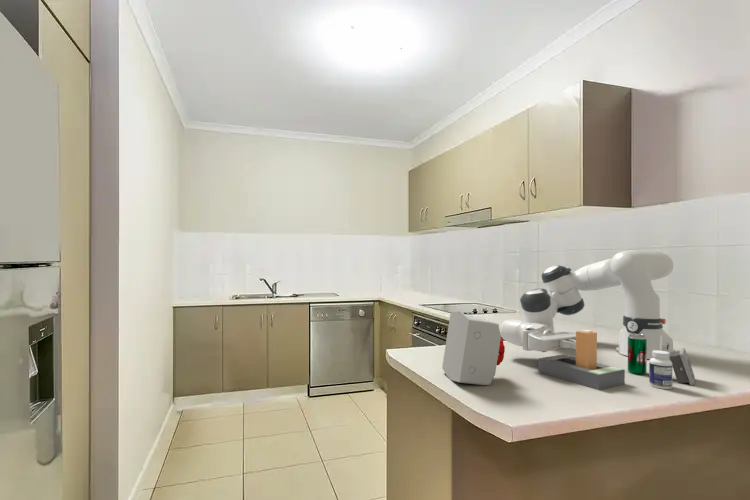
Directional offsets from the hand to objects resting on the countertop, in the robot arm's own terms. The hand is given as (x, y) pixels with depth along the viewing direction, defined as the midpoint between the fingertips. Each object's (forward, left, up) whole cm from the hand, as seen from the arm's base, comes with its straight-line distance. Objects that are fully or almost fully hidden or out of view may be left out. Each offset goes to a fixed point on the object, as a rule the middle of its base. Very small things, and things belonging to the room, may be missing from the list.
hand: (579, 346), depth 125 cm
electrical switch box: (+29, -13, -10) cm, 33 cm away
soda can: (-21, +5, -10) cm, 24 cm away
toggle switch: (0, 0, -9) cm, 10 cm away
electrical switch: (-25, +16, -10) cm, 32 cm away
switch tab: (0, +2, -8) cm, 8 cm away
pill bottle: (-13, +16, -10) cm, 23 cm away
